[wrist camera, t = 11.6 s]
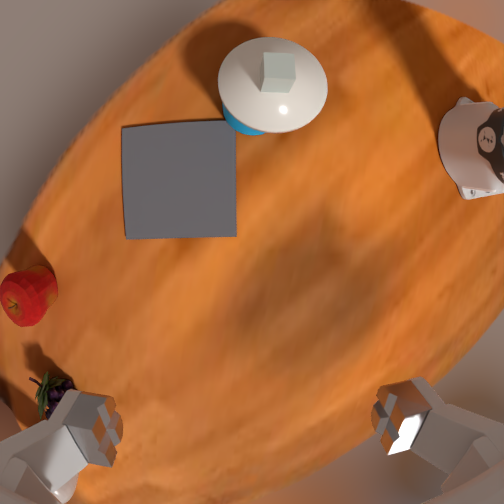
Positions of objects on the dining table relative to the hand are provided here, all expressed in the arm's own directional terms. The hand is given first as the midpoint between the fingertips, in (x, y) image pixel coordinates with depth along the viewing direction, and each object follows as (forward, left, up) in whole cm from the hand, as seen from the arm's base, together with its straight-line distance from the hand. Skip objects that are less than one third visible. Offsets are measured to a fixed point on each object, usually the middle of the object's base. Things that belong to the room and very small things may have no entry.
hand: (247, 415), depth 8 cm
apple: (+33, +9, -35) cm, 49 cm away
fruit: (+36, +33, -35) cm, 60 cm away
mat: (+8, -6, -35) cm, 37 cm away
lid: (-4, -17, -27) cm, 32 cm away
